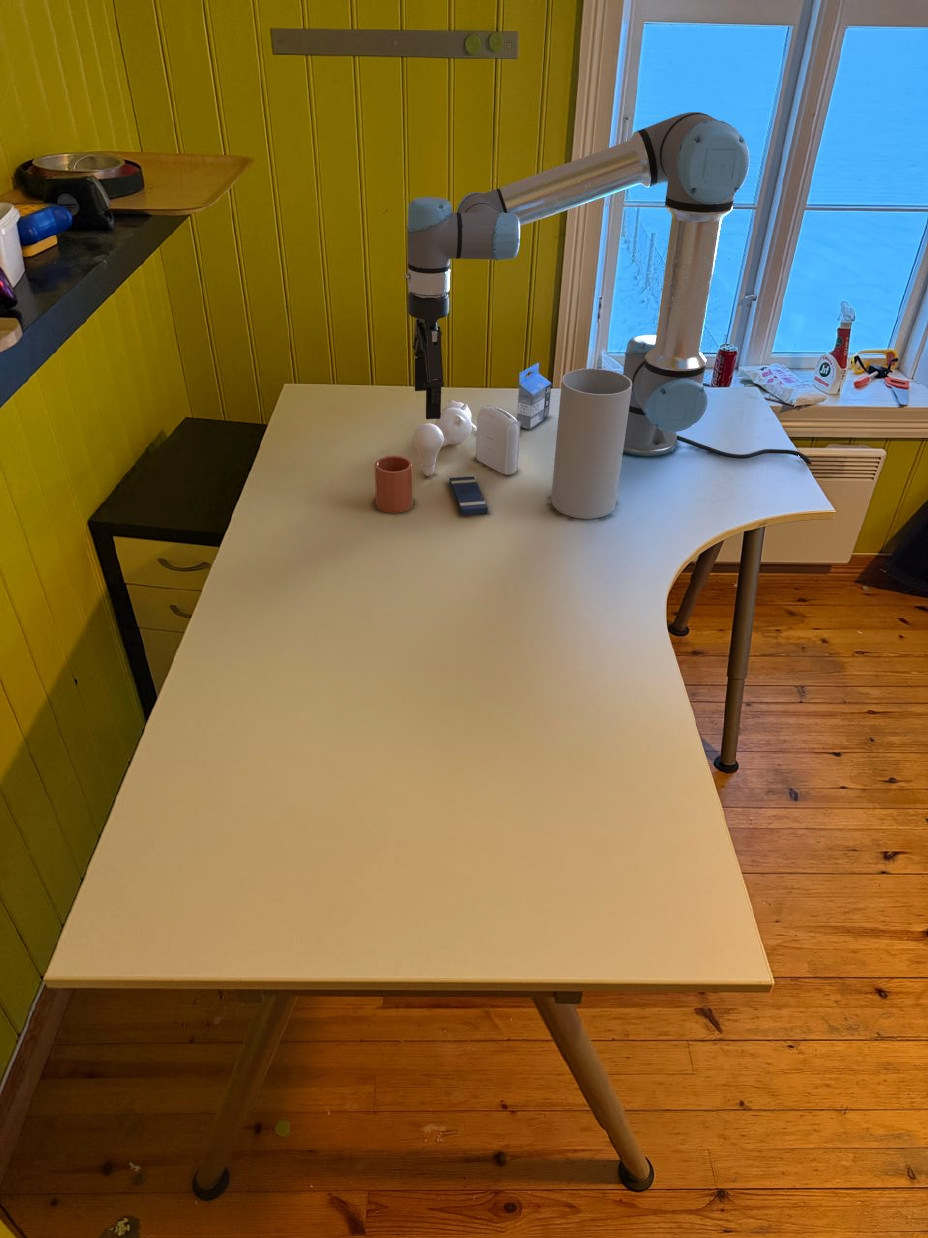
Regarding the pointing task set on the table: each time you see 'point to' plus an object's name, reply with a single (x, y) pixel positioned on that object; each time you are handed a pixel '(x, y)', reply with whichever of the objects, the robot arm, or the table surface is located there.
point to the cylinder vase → (590, 442)
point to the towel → (468, 496)
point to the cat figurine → (455, 423)
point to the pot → (394, 484)
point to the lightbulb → (428, 445)
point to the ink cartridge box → (533, 398)
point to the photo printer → (497, 439)
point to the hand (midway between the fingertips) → (427, 403)
